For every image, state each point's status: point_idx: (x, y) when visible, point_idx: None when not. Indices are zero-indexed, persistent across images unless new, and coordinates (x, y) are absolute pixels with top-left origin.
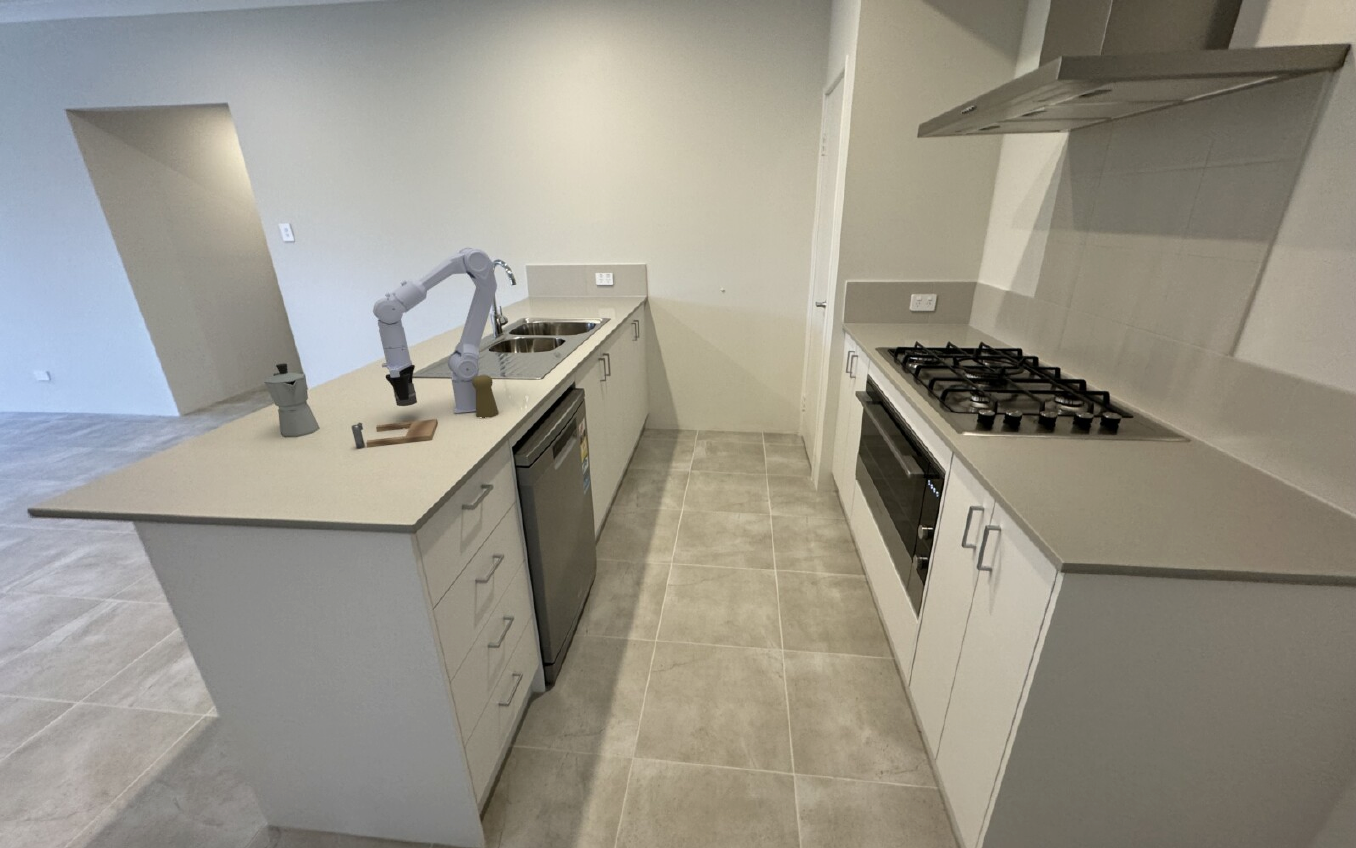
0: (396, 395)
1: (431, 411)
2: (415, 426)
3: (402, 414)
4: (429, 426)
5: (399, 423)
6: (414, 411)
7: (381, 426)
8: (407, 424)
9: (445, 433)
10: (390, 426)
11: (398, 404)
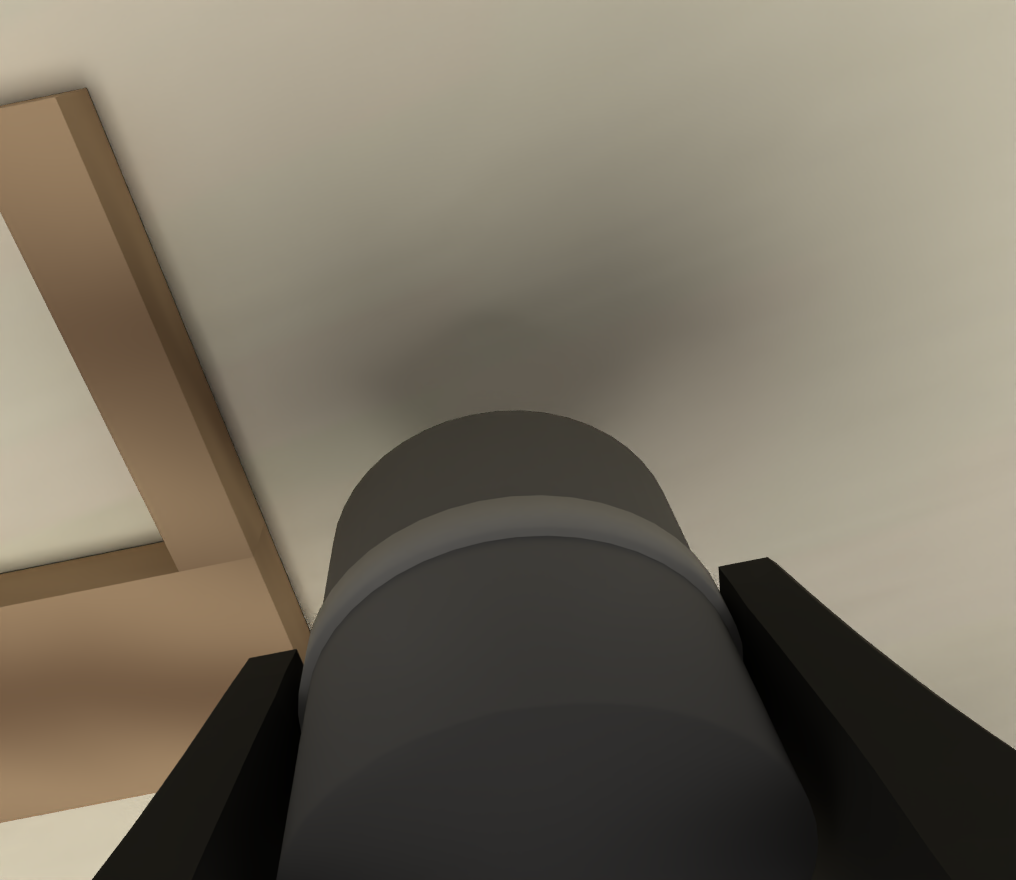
0: (329, 640)
1: (767, 538)
2: (73, 647)
3: (755, 208)
4: (97, 766)
5: (168, 425)
6: (840, 336)
7: (6, 204)
8: (158, 526)
9: (65, 846)
10: (67, 327)
11: (349, 508)
